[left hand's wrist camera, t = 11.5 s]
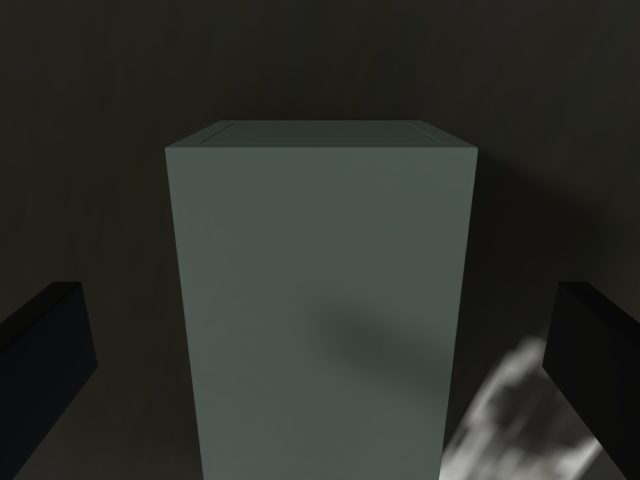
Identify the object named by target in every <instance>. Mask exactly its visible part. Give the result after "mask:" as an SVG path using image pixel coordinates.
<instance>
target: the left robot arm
mask: <svg viewBox="0 0 640 480" xmlns="http://www.w3.org/2000/svg"><path fill="white" fill-rule="evenodd" d="M97 367H98V364H97V359H96V354H95V349H94V344H93V339H92V334H91V329H90V324H89V319H88V314H87V309H86V304H85V299H84V294H83V289H82V284H81V282H52V283H51V284H50V285H49V286H47V287H46V288H45V289H44V290H42V291H41V292H40V293H38V294H37V295H36V296H35V297H33V298H32V299H31V300H30V301H28V302H27V303H26V304H24V305H23V306H22V307H21V308H19V309H18V310H17V311H16V312H14V313H13V314H12V315H10V316H9V317H8V318H7V319H5V320H4V321H3V322H2V323H0V480H13V479H14V477H15V476H16V475H17V473H18V472H19V471H20V469H21V468H22V467H23V465H24V464H25V463H26V461H27V460H28V459H29V457H30V456H31V455H32V453H33V452H34V451H35V449H36V448H37V447H38V445H39V444H40V443H41V441H42V440H43V439H44V437H45V436H46V435H47V433H48V432H49V431H50V429H51V428H52V427H53V425H54V424H55V423H56V421H57V420H58V419H59V417H60V416H61V415H62V414H63V412H64V411H65V410H66V408H67V407H68V406H69V404H70V403H71V402H72V400H73V399H74V398H75V396H76V395H77V394H78V392H79V391H80V390H81V388H82V387H83V386H84V384H85V383H86V382H87V380H88V379H89V378H90V376H91V375H92V374H93V372H94V371H95V370H96V368H97ZM542 367H543V368H544V370H545V371H546V372H547V374H548V375H549V376H550V378H551V379H552V380H553V382H554V383H555V384H556V386H557V387H558V388H559V390H560V391H561V392H562V394H563V395H564V396H565V398H566V399H567V400H568V402H569V403H570V404H571V406H572V407H573V408H574V410H575V411H576V412H577V414H578V415H579V416H580V417H581V419H582V420H583V421H584V423H585V424H586V425H587V427H588V428H589V429H590V431H591V432H592V433H593V435H594V436H595V437H596V439H597V440H598V441H599V443H600V444H601V445H602V447H603V448H604V449H605V451H606V452H607V453H608V455H609V456H610V457H611V459H612V460H613V461H614V463H615V464H616V465H617V467H618V468H619V469H620V471H621V472H622V473H623V475H624V476H625V477H626V479H627V480H640V323H638V322H637V321H636V320H635V319H633V318H632V317H631V316H630V315H628V314H627V313H626V312H624V311H623V310H622V309H621V308H619V307H618V306H617V305H616V304H614V303H613V302H612V301H610V300H609V299H608V298H607V297H605V296H604V295H603V294H602V293H600V292H599V291H598V290H596V289H595V288H594V287H593V286H591V285H590V284H589V283H588V282H559V284H558V289H557V294H556V299H555V304H554V309H553V314H552V319H551V324H550V329H549V334H548V339H547V344H546V349H545V354H544V359H543V364H542Z"/></svg>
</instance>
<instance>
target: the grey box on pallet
mask: <svg viewBox="0 0 640 480" xmlns="http://www.w3.org/2000/svg"><path fill="white" fill-rule="evenodd" d="M165 153H166V162H167V170H168V179H169V187H170V196H171V204H172V213H173V221H174V230H175V238H176V247H177V255H178V264H179V272H180V281H181V289H182V298H183V306H184V315H185V323H186V332H187V341H188V349H189V358H190V366H191V375H192V383H193V392H194V400H195V409H196V417H197V426H198V434H199V443H200V451H201V460H202V468H203V477H204V480H439V473H440V465H441V456H442V448H443V440H444V431H445V423H446V414H447V406H448V398H449V389H450V381H451V372H452V364H453V356H454V347H455V339H456V331H457V322H458V314H459V305H460V297H461V289H462V280H463V272H464V263H465V255H466V247H467V238H468V230H469V221H470V213H471V205H472V196H473V188H474V179H475V171H476V163H477V154H478V147H476V146H474V145H471V144H469V143H467V142H465V141H463V140H461V139H459V138H457V137H455V136H453V135H451V134H449V133H447V132H445V131H443V130H441V129H439V128H436V127H434V126H432V125H430V124H428V123H426V122H424V121H421V120H221V121H219V122H216V123H214V124H212V125H210V126H208V127H206V128H204V129H202V130H200V131H198V132H196V133H194V134H192V135H190V136H188V137H186V138H184V139H182V140H180V141H178V142H176V143H174V144H172V145H170V146H168V147H166V148H165Z"/></svg>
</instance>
